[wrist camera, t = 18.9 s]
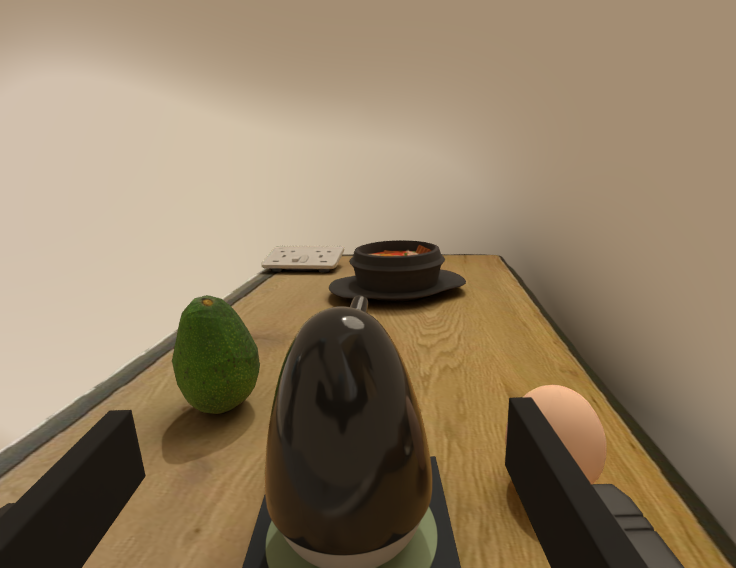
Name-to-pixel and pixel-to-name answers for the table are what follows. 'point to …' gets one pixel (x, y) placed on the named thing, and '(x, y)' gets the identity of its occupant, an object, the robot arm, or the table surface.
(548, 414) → the egg
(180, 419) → the table surface
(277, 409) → the pump dispenser
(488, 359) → the table surface
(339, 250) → the wall socket
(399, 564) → the placemat
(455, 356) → the table surface
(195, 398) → the avocado
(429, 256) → the casserole
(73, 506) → the robot arm
